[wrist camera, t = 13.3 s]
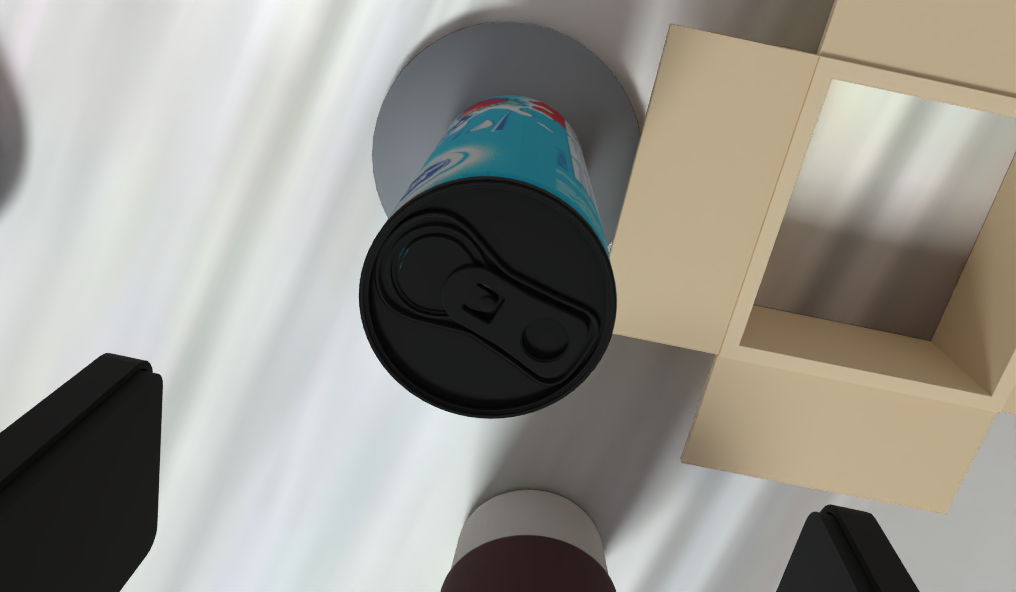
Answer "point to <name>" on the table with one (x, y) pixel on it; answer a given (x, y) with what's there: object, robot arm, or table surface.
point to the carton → (752, 233)
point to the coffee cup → (529, 547)
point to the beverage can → (493, 267)
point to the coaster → (498, 72)
